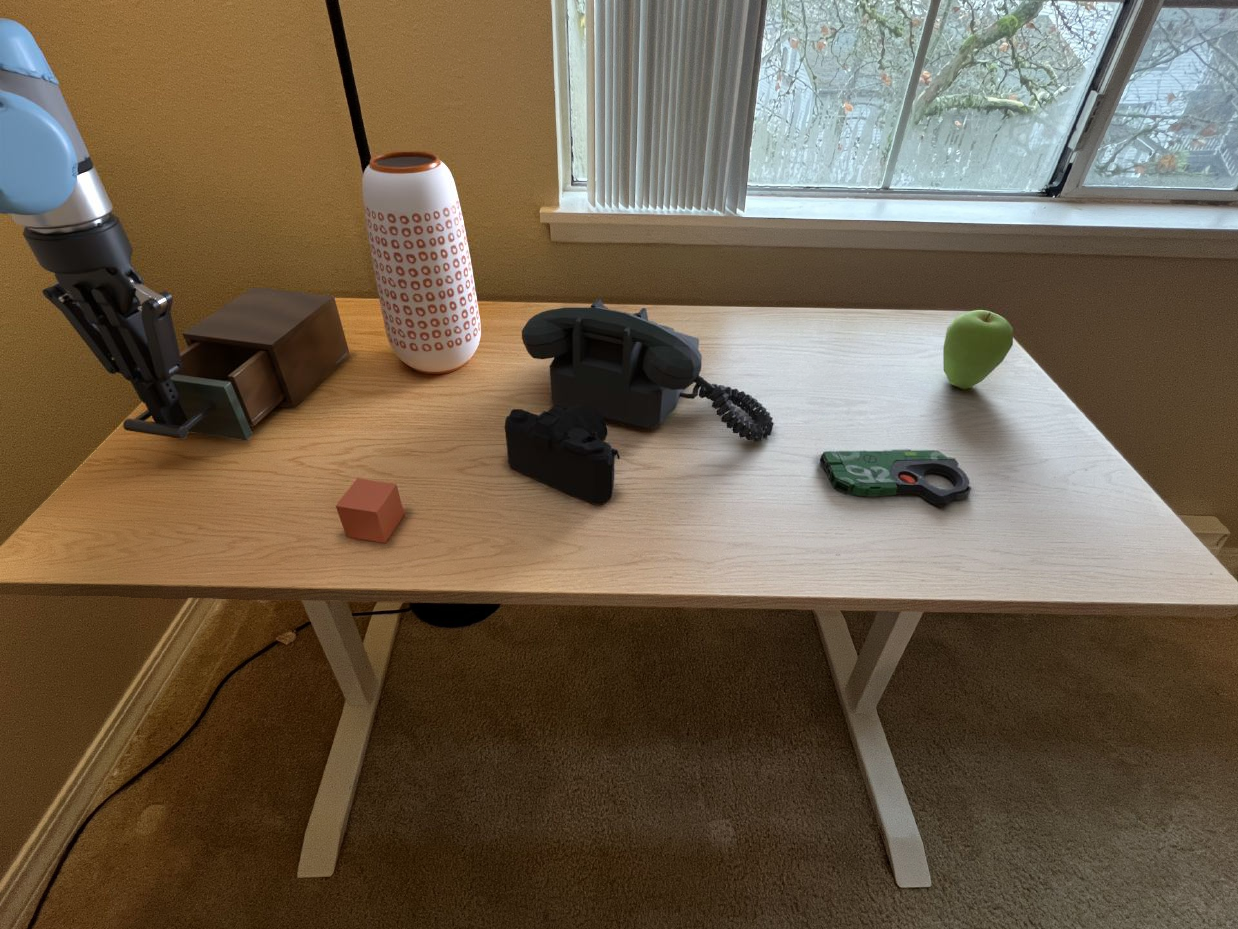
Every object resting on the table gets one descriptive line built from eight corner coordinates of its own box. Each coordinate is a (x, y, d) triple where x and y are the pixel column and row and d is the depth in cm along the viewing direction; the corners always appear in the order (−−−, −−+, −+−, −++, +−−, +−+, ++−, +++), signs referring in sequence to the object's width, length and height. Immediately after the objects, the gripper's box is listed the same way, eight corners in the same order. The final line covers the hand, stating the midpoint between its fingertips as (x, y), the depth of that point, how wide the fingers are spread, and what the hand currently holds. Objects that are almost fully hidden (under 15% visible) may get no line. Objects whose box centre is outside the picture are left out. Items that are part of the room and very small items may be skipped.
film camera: (644, 467, 78) (648, 406, 73) (600, 513, 72) (601, 450, 66) (544, 426, 84) (541, 367, 79) (496, 465, 78) (488, 403, 72)
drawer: (213, 472, 74) (185, 417, 69) (126, 459, 76) (93, 403, 71) (308, 383, 89) (292, 332, 84) (234, 373, 91) (214, 323, 86)
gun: (845, 502, 72) (819, 447, 80) (841, 511, 73) (816, 456, 81) (985, 500, 73) (946, 446, 81) (980, 509, 74) (942, 455, 82)
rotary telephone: (790, 381, 94) (812, 284, 85) (760, 468, 79) (782, 360, 69) (581, 337, 103) (580, 245, 94) (517, 406, 88) (508, 304, 78)
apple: (928, 364, 99) (955, 294, 92) (987, 376, 97) (1019, 304, 90) (928, 393, 93) (957, 320, 86) (992, 405, 91) (1026, 332, 83)
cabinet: (294, 408, 86) (271, 344, 80) (210, 396, 88) (181, 333, 82) (350, 355, 97) (334, 295, 91) (274, 345, 99) (253, 286, 93)
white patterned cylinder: (374, 367, 95) (322, 162, 77) (436, 330, 104) (403, 140, 86) (443, 392, 90) (406, 180, 72) (502, 352, 99) (481, 155, 81)
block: (385, 543, 68) (376, 512, 65) (345, 536, 68) (335, 505, 65) (404, 514, 71) (396, 483, 68) (366, 508, 72) (357, 477, 69)
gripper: (160, 213, 62) (244, 414, 77) (44, 201, 64) (148, 400, 79) (97, 240, 56) (201, 452, 71) (-29, 226, 58) (99, 436, 73)
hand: (173, 425), depth 75 cm, fingers closed
